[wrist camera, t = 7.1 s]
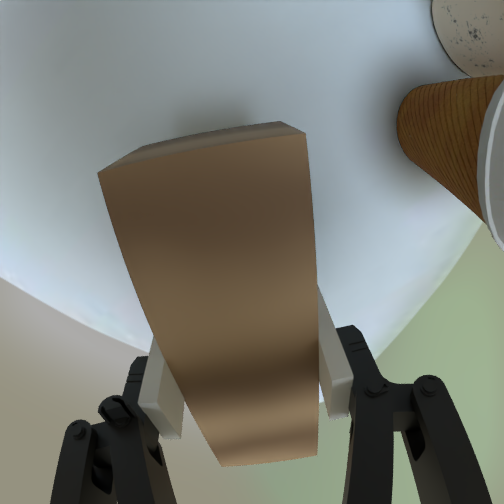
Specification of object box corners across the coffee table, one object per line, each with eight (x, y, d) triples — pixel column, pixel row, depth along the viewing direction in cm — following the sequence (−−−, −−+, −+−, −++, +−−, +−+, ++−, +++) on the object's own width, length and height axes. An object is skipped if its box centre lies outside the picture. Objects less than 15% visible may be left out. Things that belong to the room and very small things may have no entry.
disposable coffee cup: (405, 211, 22) (510, 306, 11) (351, 94, 18) (480, 107, 7) (488, 156, 20) (599, 213, 9) (449, 46, 16) (581, 49, 5)
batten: (142, 146, 13) (97, 172, 8) (280, 121, 13) (305, 133, 8) (221, 407, 21) (221, 466, 17) (304, 396, 21) (317, 455, 16)
